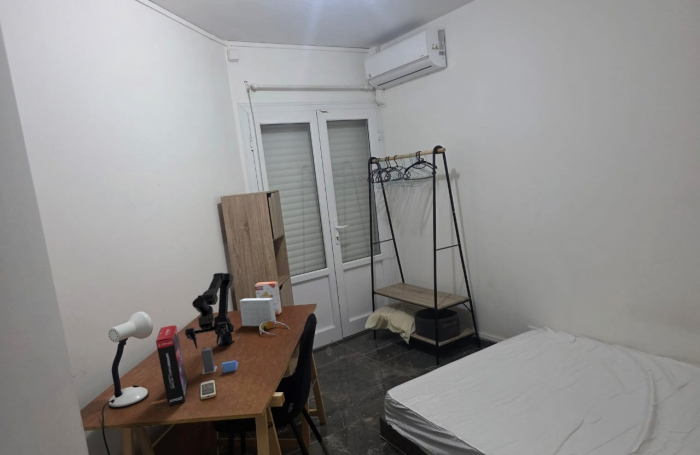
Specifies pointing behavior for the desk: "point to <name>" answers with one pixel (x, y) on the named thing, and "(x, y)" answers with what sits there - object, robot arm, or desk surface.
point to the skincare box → (257, 311)
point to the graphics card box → (172, 364)
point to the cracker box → (269, 293)
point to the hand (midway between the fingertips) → (207, 346)
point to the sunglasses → (268, 326)
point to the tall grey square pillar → (208, 359)
